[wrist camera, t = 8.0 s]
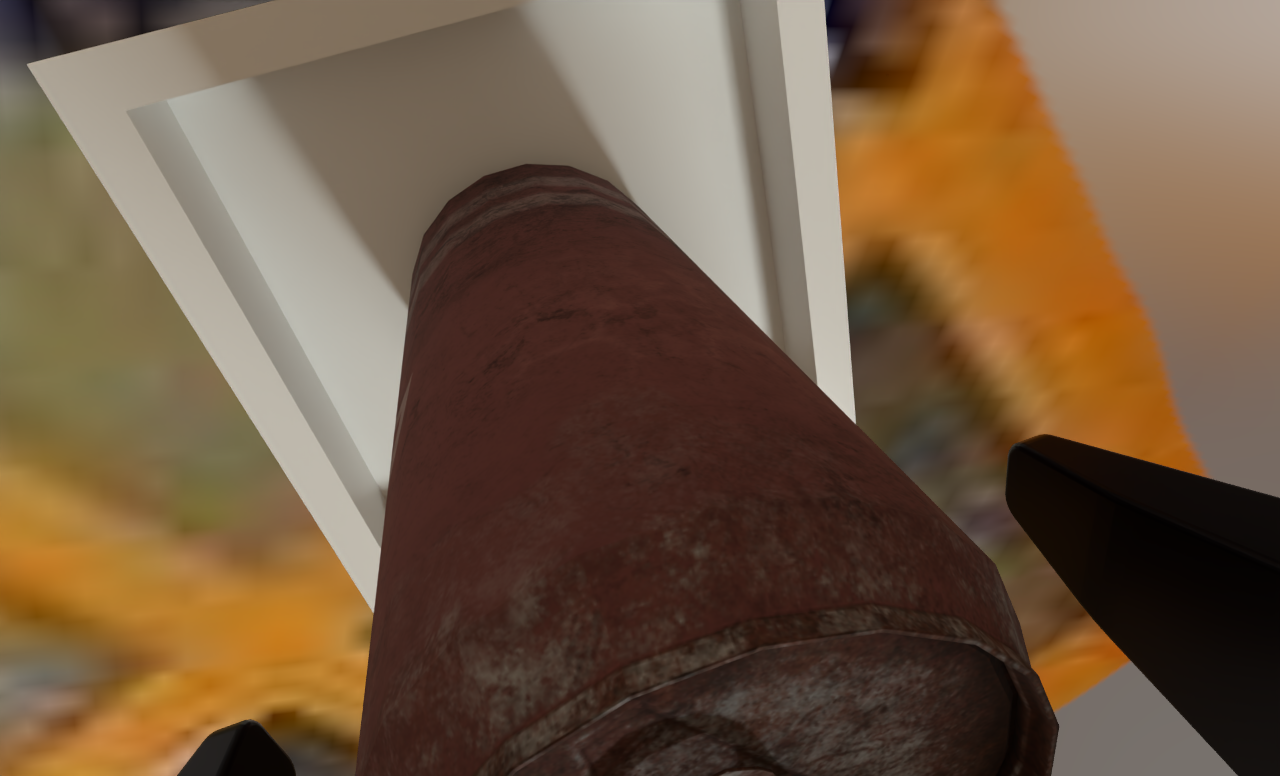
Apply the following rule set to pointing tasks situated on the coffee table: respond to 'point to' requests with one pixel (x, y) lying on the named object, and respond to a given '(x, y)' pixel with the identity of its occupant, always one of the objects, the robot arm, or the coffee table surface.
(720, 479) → the can
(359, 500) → the tray
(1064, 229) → the coffee table surface
